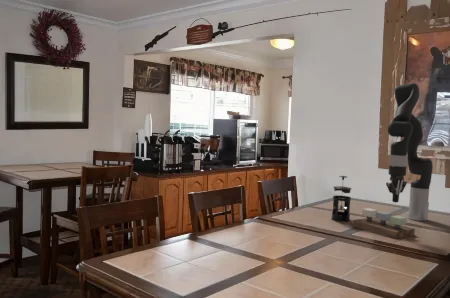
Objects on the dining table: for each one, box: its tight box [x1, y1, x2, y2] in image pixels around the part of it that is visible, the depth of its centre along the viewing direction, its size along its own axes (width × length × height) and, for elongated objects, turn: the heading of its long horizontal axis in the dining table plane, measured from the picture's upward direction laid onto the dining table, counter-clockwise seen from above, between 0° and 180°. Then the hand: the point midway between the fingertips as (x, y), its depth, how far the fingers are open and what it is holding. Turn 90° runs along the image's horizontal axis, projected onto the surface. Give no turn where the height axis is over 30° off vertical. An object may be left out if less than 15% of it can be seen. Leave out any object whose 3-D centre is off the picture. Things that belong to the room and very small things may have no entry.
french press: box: [330, 175, 352, 223], centre depth 219 cm, size 12×9×23 cm
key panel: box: [352, 217, 416, 239], centre depth 200 cm, size 14×24×3 cm, turn 32°
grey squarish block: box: [375, 211, 393, 225], centre depth 200 cm, size 5×5×6 cm
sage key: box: [389, 215, 408, 229], centre depth 193 cm, size 5×5×6 cm
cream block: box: [361, 207, 378, 221], centre depth 207 cm, size 5×5×6 cm
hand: (395, 202), depth 195 cm, fingers closed
